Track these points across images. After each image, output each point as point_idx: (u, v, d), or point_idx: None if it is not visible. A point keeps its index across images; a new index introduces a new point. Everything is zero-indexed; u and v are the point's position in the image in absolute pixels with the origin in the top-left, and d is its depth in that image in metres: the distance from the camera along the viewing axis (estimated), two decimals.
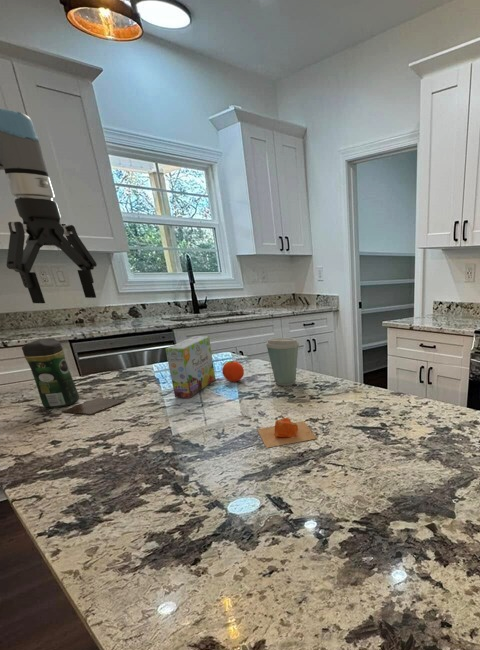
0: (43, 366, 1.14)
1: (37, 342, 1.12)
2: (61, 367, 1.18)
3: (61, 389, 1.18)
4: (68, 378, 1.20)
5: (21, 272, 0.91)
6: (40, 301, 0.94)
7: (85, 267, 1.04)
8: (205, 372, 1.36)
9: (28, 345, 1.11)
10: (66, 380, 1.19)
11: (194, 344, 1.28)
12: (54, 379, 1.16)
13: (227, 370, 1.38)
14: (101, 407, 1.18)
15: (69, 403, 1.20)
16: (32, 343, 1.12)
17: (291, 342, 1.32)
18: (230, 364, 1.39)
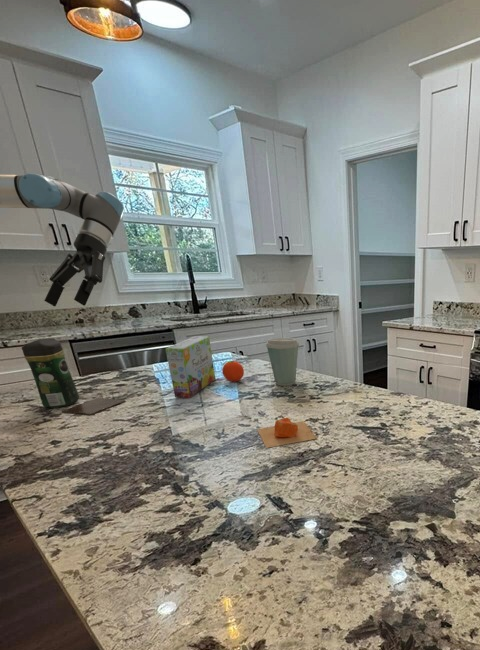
0: (43, 366, 1.14)
1: (37, 342, 1.12)
2: (61, 367, 1.18)
3: (61, 389, 1.18)
4: (68, 378, 1.20)
5: (92, 282, 1.17)
6: (84, 303, 1.17)
7: (61, 284, 1.24)
8: (205, 372, 1.36)
9: (28, 345, 1.11)
10: (65, 380, 1.19)
11: (194, 344, 1.28)
12: (54, 379, 1.16)
13: (227, 370, 1.38)
14: (101, 407, 1.18)
15: (69, 403, 1.20)
16: (32, 343, 1.12)
17: (291, 342, 1.32)
18: (230, 364, 1.39)
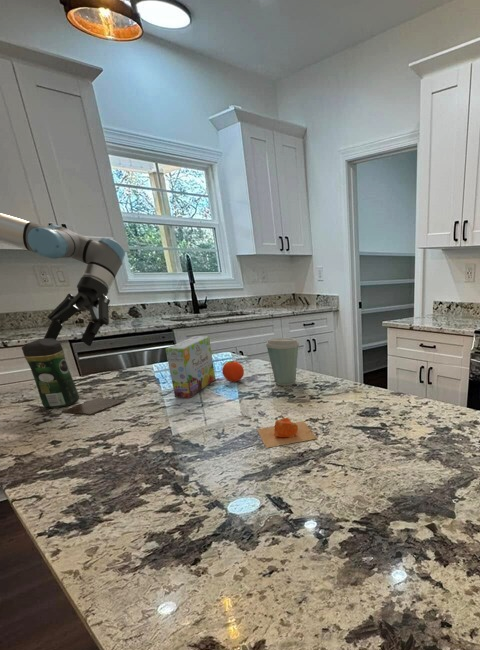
0: (43, 366, 1.14)
1: (37, 342, 1.12)
2: (61, 367, 1.18)
3: (61, 389, 1.18)
4: (68, 378, 1.20)
5: (99, 324, 1.22)
6: (90, 344, 1.22)
7: (60, 322, 1.27)
8: (205, 372, 1.36)
9: (28, 345, 1.11)
10: (65, 380, 1.19)
11: (194, 344, 1.28)
12: (54, 379, 1.16)
13: (227, 370, 1.38)
14: (101, 407, 1.18)
15: (69, 403, 1.20)
16: (32, 343, 1.12)
17: (291, 342, 1.32)
18: (230, 364, 1.39)
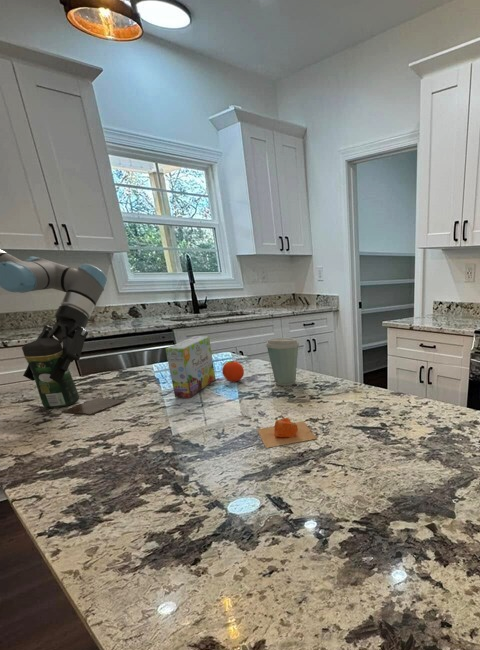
0: (43, 366, 1.14)
1: (37, 342, 1.12)
2: None
3: (61, 389, 1.18)
4: (68, 378, 1.20)
5: (69, 360, 1.17)
6: (59, 380, 1.16)
7: None
8: (205, 372, 1.36)
9: (28, 345, 1.11)
10: (66, 380, 1.19)
11: (194, 344, 1.28)
12: None
13: (227, 370, 1.38)
14: (101, 407, 1.18)
15: (69, 403, 1.20)
16: (32, 343, 1.12)
17: (291, 342, 1.32)
18: (230, 364, 1.39)
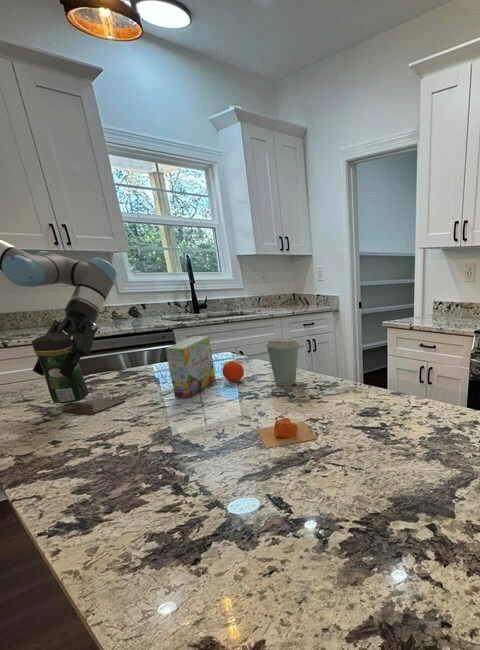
0: (53, 361, 1.12)
1: (47, 336, 1.11)
2: None
3: (71, 385, 1.16)
4: (77, 373, 1.18)
5: (79, 355, 1.15)
6: (69, 376, 1.15)
7: None
8: (205, 372, 1.36)
9: (38, 339, 1.09)
10: (75, 376, 1.17)
11: (194, 344, 1.28)
12: None
13: (227, 370, 1.38)
14: (101, 407, 1.18)
15: (79, 399, 1.18)
16: (42, 337, 1.10)
17: (291, 342, 1.32)
18: (230, 364, 1.39)
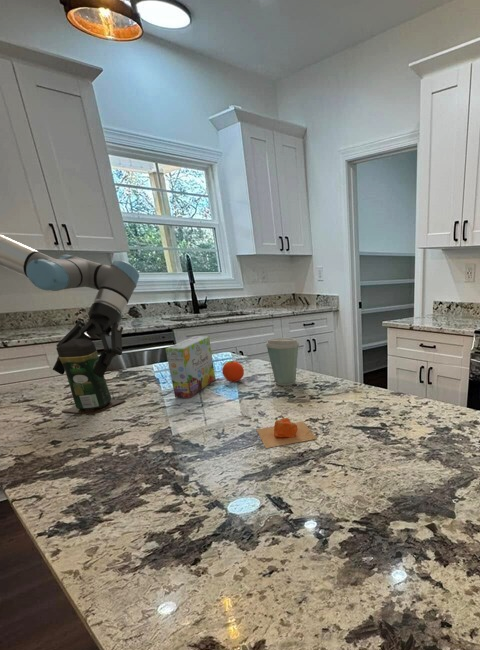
0: (78, 367, 1.11)
1: (72, 342, 1.10)
2: None
3: (95, 391, 1.15)
4: (101, 379, 1.17)
5: (111, 355, 1.14)
6: (102, 375, 1.13)
7: None
8: (205, 372, 1.36)
9: (63, 345, 1.08)
10: (99, 382, 1.16)
11: (194, 344, 1.28)
12: (88, 381, 1.13)
13: (227, 370, 1.38)
14: (101, 407, 1.18)
15: (102, 405, 1.17)
16: (67, 343, 1.09)
17: (291, 342, 1.32)
18: (230, 364, 1.39)
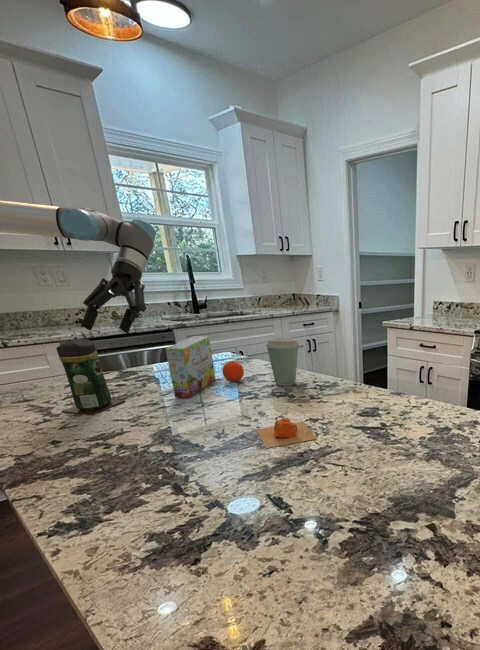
0: (78, 367, 1.11)
1: (72, 342, 1.10)
2: (95, 368, 1.15)
3: (95, 391, 1.15)
4: (101, 379, 1.17)
5: (136, 311, 1.21)
6: (127, 331, 1.21)
7: (96, 308, 1.26)
8: (205, 372, 1.36)
9: (63, 345, 1.08)
10: (99, 382, 1.16)
11: (194, 344, 1.28)
12: (88, 381, 1.13)
13: (227, 370, 1.38)
14: (101, 407, 1.18)
15: (102, 405, 1.17)
16: (67, 343, 1.09)
17: (291, 342, 1.32)
18: (230, 364, 1.39)
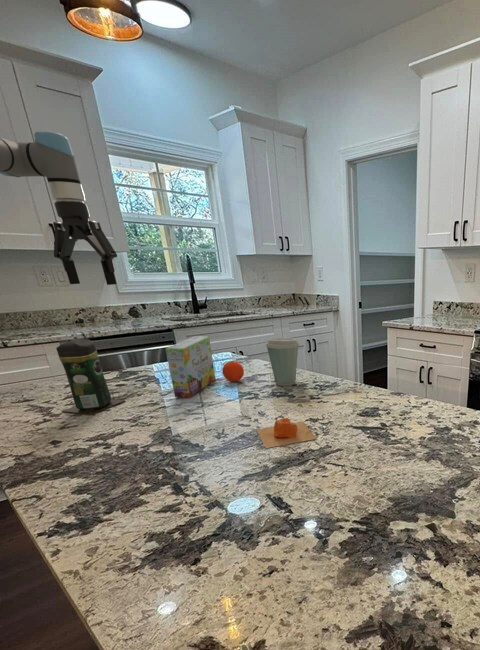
0: (78, 367, 1.11)
1: (72, 342, 1.10)
2: (95, 368, 1.15)
3: (95, 391, 1.15)
4: (101, 379, 1.17)
5: (110, 260, 1.19)
6: (115, 282, 1.23)
7: (69, 258, 1.23)
8: (205, 372, 1.36)
9: (63, 345, 1.08)
10: (99, 382, 1.16)
11: (194, 344, 1.28)
12: (88, 381, 1.13)
13: (227, 370, 1.38)
14: (101, 407, 1.18)
15: (102, 405, 1.17)
16: (67, 343, 1.09)
17: (291, 342, 1.32)
18: (230, 364, 1.39)
